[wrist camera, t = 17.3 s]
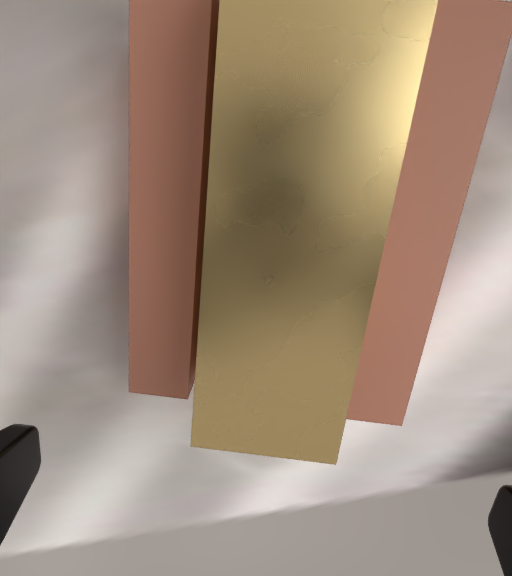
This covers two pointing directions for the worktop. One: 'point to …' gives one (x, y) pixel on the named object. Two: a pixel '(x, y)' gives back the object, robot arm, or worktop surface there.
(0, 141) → the worktop surface
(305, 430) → the brass block
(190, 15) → the rust cradle
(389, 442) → the worktop surface
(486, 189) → the worktop surface
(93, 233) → the worktop surface
